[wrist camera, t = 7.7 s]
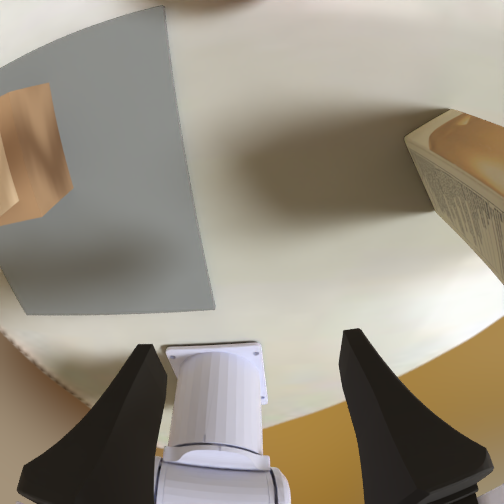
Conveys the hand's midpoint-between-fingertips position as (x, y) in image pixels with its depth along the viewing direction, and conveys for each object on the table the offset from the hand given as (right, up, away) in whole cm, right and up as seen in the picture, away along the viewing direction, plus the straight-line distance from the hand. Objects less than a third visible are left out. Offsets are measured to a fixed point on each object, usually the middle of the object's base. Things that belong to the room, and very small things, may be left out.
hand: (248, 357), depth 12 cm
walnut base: (-15, +11, +4) cm, 19 cm away
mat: (-12, +8, +7) cm, 16 cm away
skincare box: (+12, +10, +6) cm, 17 cm away
